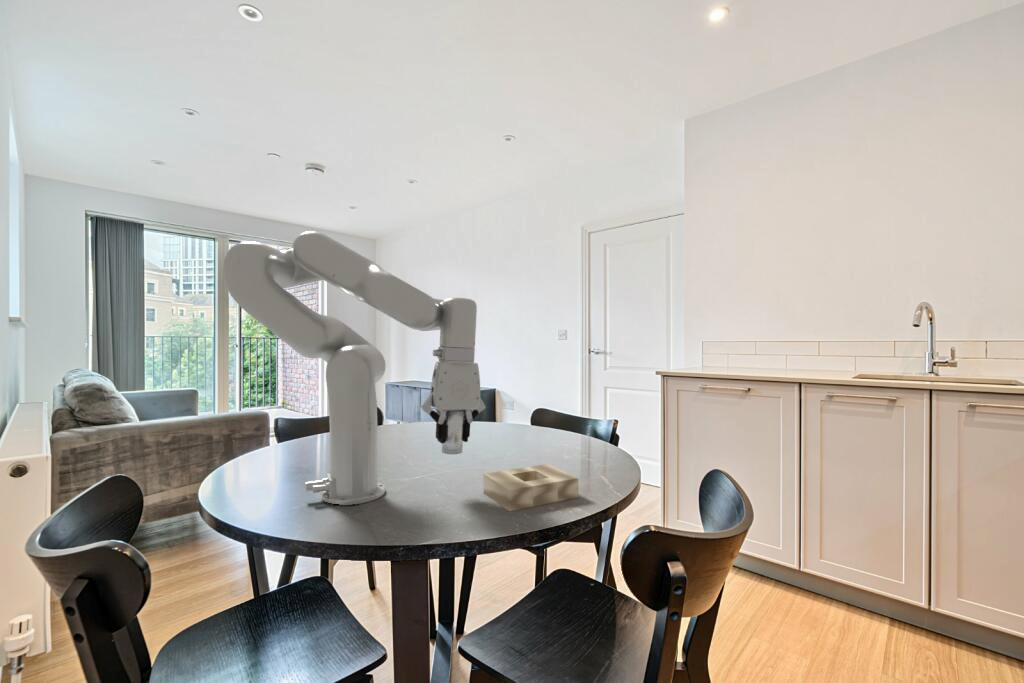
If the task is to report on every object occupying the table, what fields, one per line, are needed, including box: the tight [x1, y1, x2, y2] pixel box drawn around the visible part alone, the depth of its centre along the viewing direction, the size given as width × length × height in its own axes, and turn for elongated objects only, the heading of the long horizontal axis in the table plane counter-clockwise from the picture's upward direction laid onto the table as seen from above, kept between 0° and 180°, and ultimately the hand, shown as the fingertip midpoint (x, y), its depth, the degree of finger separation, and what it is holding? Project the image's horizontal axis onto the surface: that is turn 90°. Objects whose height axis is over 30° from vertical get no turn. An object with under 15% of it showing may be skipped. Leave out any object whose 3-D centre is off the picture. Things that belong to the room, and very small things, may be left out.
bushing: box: [441, 410, 464, 455], centre depth 96 cm, size 4×4×9 cm
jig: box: [482, 463, 579, 512], centre depth 94 cm, size 16×12×4 cm
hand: (452, 440), depth 96 cm, fingers closed on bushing, 4 cm apart
